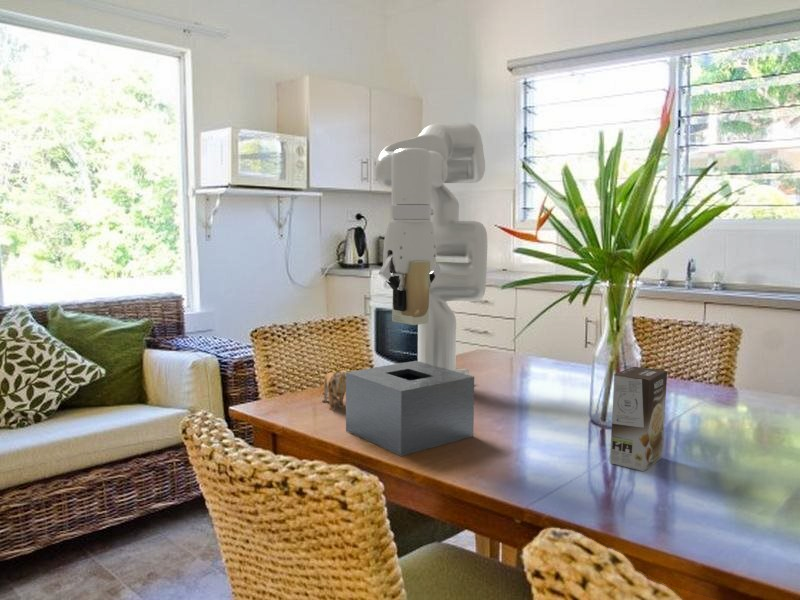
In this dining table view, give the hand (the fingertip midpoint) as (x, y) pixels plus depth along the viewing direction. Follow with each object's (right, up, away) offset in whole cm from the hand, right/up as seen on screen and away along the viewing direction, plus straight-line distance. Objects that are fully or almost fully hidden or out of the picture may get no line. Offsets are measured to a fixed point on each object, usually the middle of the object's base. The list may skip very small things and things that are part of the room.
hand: (410, 308), depth 130 cm
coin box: (0, -25, +3) cm, 25 cm away
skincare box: (0, -3, 0) cm, 3 cm away
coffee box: (+40, -27, -11) cm, 50 cm away
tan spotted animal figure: (-17, -23, +24) cm, 37 cm away
